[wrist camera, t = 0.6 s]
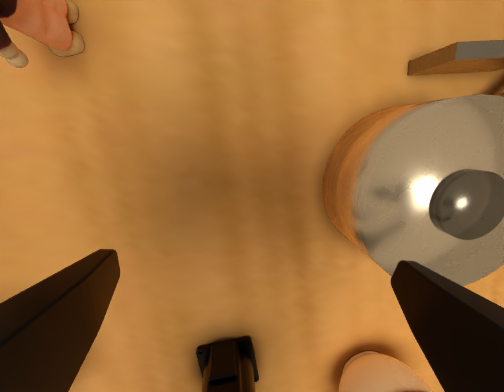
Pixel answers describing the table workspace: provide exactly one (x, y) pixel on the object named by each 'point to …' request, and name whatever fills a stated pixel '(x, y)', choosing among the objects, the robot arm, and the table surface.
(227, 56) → the table surface
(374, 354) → the lidded jar
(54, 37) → the grandmother figurine
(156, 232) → the table surface
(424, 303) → the robot arm
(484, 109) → the cover
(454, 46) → the centering jig
